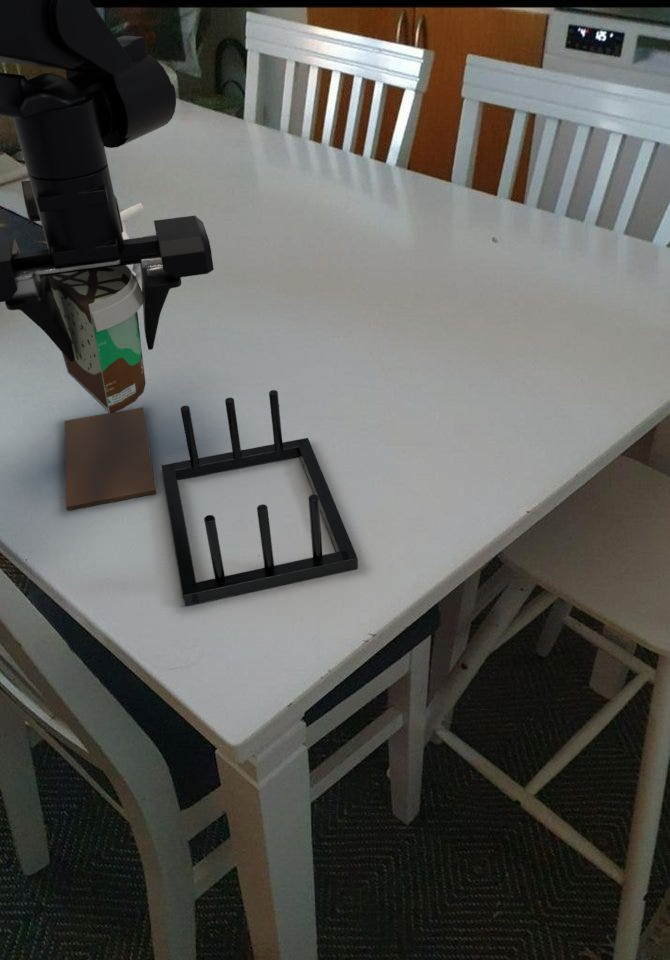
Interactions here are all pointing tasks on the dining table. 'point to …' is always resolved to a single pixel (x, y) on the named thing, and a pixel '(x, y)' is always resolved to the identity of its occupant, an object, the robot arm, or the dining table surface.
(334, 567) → the drying rack
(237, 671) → the dining table surface
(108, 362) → the food container
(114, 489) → the walnut board
